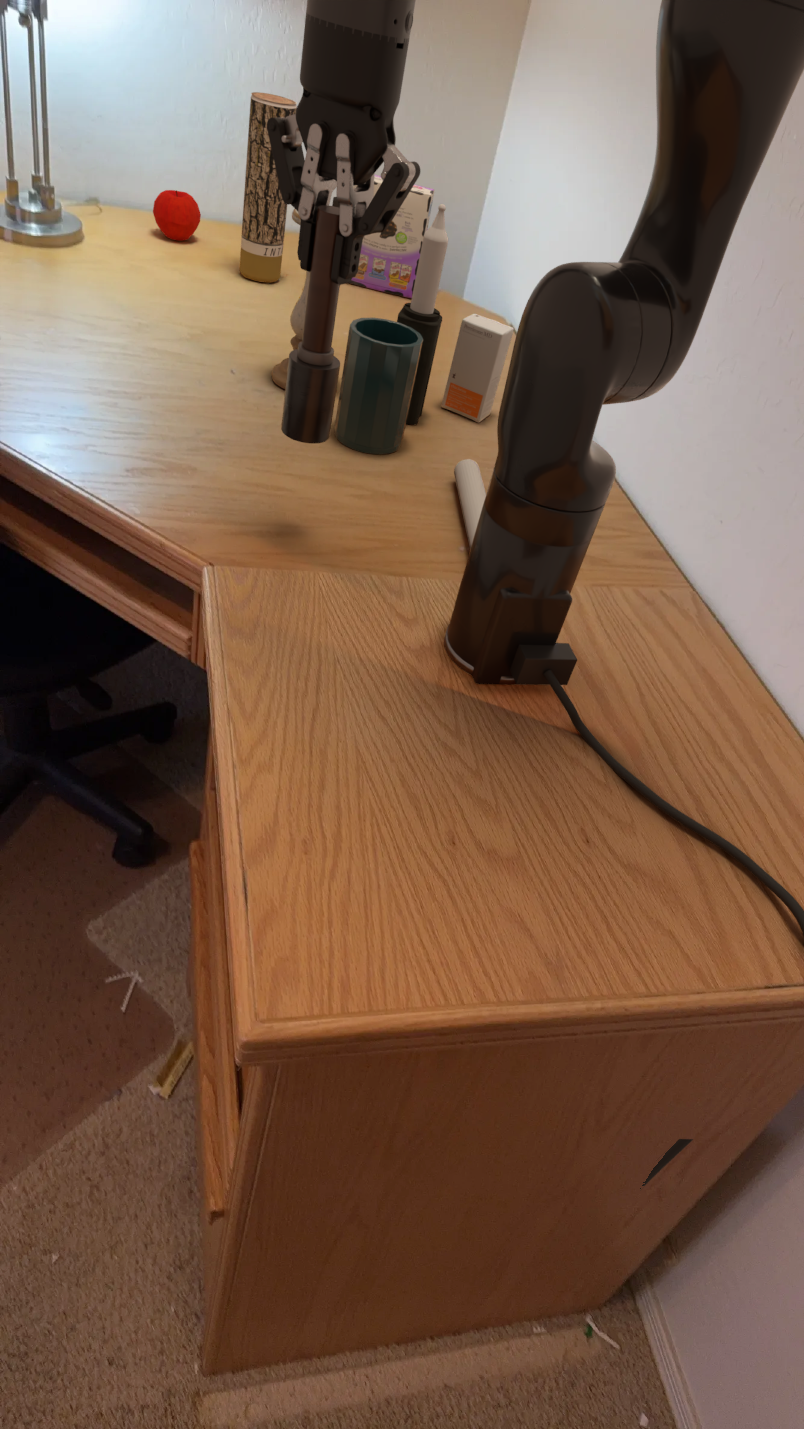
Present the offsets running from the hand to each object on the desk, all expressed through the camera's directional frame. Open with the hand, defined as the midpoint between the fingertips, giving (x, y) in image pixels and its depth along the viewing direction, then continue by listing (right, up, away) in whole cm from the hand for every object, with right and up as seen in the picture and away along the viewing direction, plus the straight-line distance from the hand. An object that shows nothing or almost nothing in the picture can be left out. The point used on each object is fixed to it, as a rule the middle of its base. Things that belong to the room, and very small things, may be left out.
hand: (326, 274), depth 74 cm
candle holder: (-7, +7, +44) cm, 45 cm away
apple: (-33, +46, +80) cm, 98 cm away
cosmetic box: (+15, +5, +47) cm, 50 cm away
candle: (+6, +3, +42) cm, 43 cm away
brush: (-3, -10, +9) cm, 14 cm away
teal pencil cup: (+2, -3, +35) cm, 35 cm away
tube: (+14, -18, +22) cm, 32 cm away
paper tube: (-17, +36, +73) cm, 83 cm away
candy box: (+2, +39, +81) cm, 90 cm away
